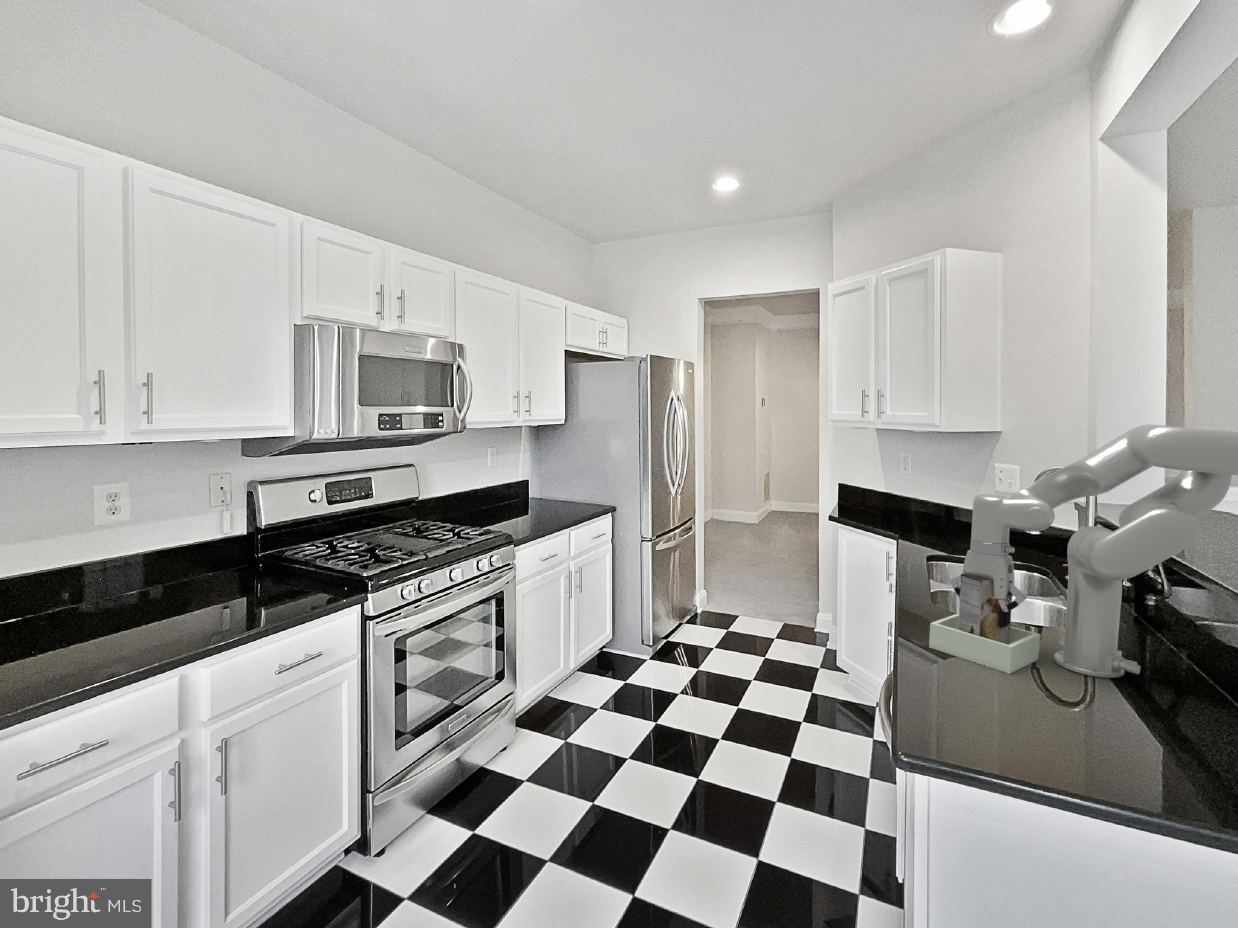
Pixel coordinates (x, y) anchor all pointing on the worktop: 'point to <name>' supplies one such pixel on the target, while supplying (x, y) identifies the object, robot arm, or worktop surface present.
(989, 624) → the coffee box
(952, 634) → the bin
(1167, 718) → the worktop surface
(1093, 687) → the worktop surface
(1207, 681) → the worktop surface
